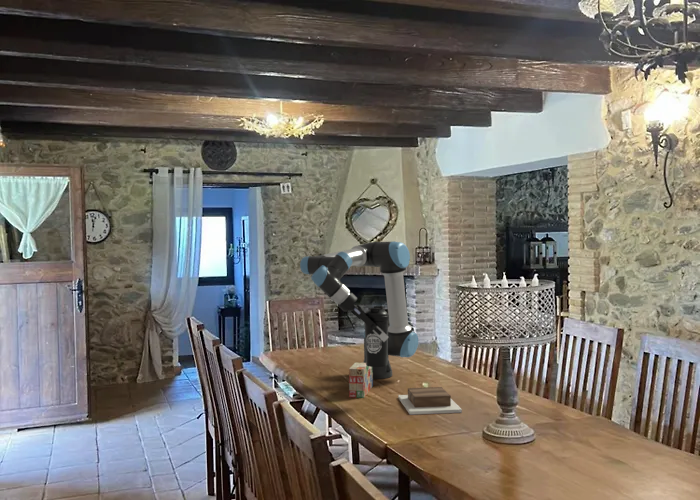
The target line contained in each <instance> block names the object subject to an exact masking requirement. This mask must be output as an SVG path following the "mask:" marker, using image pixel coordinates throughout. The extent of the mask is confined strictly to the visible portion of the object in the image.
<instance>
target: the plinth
mask: <svg viewBox="0 0 700 500" xmlns="http://www.w3.org/2000/svg"><path fill="white" fill-rule="evenodd" d="M407 395H408V399H409V400H410V402H411V403H412V404H413V406H414V407H441V406H451V399H452V398H451V394H449V392H447V391H446V390H445V388H444V387H442V386H432V387H431V386H430V387H409V388H407Z"/></svg>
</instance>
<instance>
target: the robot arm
mask: <svg viewBox="0 0 700 500" xmlns="http://www.w3.org/2000/svg"><path fill="white" fill-rule="evenodd" d="M410 260H411V255H410V251H409V248H408V246H407V245H406V244H405V243H403V242H402V241H372V242H371V241H370V242H367V243H366V242H365V243H362V244H357V245H354V246H353V247H352V248H350V249H345V250H344V249H343V250H340V251H334V252H330V253H324V254H320V255H319V254H318V255H315V256H314V255H313V256H311V255H309V256H308V255H307V256H303V257H302V258H301V260H300V263H299V265H300V271H301V272H302V273H303V274H305V275H309V276H311V278H310V280H312V282H313V283H314V284H315V285H316V287H318V288H319V289H320V290H321V291H322V292H323V293H324V294H326V296H328V297H329V298H330V299H331V300H330V301H331V302H334V303H335V305H338V307H339V308H340V309H341V310H342V311H343V312H347V311H349V310H351V311H350V312H351V313H352V315H353V316H356V318H358V319H359V320H361V321H362V322H363V323H364V325H365V324H366V325H367V326H368V327H369V328H370V329H371V330H370V331H371V332H372V331H373V332H374V333H375V334H376V335H377V336H378V337H379V338H380V339H381V340H382V341H383V342H385V341H386V340H387V339H388V356H392V357H399V358H411V357H413V356H414V355H415V353H416V352H417V349H418V347H419V335H418V334H417V333H416V332H414V331H413V327H412V325H410V324H409V318H408V317H409V316H408V309H407V300H406V299H407V298H406V289H405V281H404V273H405V272H406V270H407V268H408V266H409V264H410ZM353 266H355V267H373V268H379V270H380V274H382V275H383V277H384V285H385V294H386V302H387V304H386V305H387V313H388V315H389V321H388V324H389V325H388V336H387V335H386V334H385V333H384V332H383V331H382V330H381V329H380V328H379V327H378V326H376V324H374V323H373V322H372V321H371V320H370V319H369V318H368V317H367V316H366V315H365V314H366V311H364V310H363V309H362V307H361V306H360V305H359V304H355V303H356V302H357V300H358V297H357V296H356V295H355V294H354V293H353V292H351V290H350V289H349V288H348V287H347V286H346V285H345V284H344V283H342V281H341V279H342V277H343V276H345V275H346V273H347V272H348V271H349V270H350V268H351V267H353ZM363 355H364V356H363V358H364V359H363V362H362V363H366V349H365V330H364V332H363ZM372 372H373V380H375V379H376V380H379V379H380V380H381V379H389V378H391V377H393V368H392V366H391V363H390V358H389V357H388V360H387V366H384V367H372Z"/></svg>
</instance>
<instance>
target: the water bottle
mask: <svg viewBox="0 0 700 500" xmlns="http://www.w3.org/2000/svg"><path fill="white" fill-rule="evenodd" d="M365 313H366V314H365V315H366V316H367V317H368V318H369V319H370V320H371V321H372V322H373V323H374V324H376V326H378V327H379V328H380V329H381V330H382V331H383V332H384V333H385V334H386V335H387V336H388V327H389V314H388V311H386V310H385V309H384V306H382V305H376V306H375V305H374V306H373V307H368V310H367V311H365ZM370 330H371V329H370V328H369V327H368V326H367V325H366V324H365V323H364V331H365V349H366V365H367V366H370V367H384V366H387V360H388V358H389V355H388V339H387V340H386V341H385V342H383V341H382V340H381V339H380V338H379V337H378V336H377V335H376V334H375V333H374V332H373V331H372V332H371V331H370Z"/></svg>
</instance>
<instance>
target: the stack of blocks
mask: <svg viewBox="0 0 700 500" xmlns="http://www.w3.org/2000/svg"><path fill="white" fill-rule="evenodd" d="M373 386H374V379H373V372H372V367H370V366H367V365H366V363H363V362H354V363H353V364H352V365H351V366H349V368H348V387H349V389H348V393H349V395H348V397H349V398H354V399H355V398H359V399H364V398H365V397H366V396H367V395H368V394H369V392H370V391H371V389H372V388H373Z"/></svg>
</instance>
